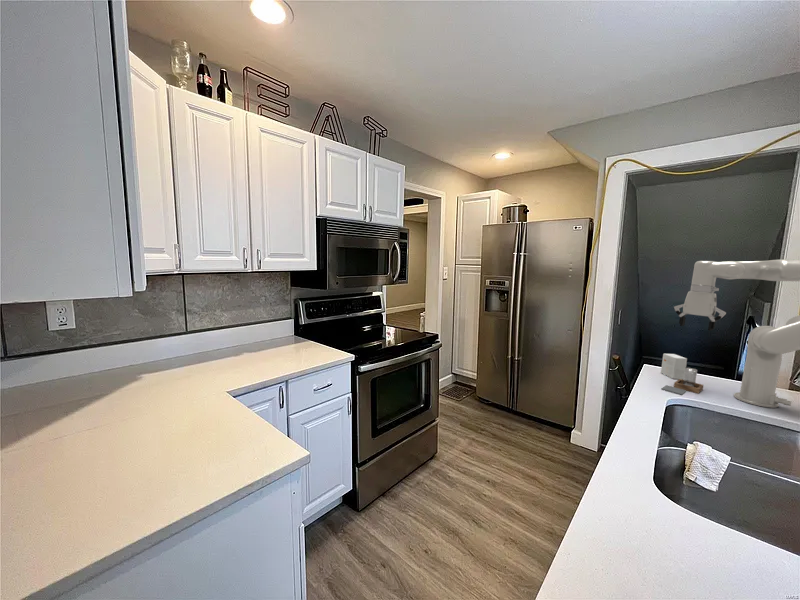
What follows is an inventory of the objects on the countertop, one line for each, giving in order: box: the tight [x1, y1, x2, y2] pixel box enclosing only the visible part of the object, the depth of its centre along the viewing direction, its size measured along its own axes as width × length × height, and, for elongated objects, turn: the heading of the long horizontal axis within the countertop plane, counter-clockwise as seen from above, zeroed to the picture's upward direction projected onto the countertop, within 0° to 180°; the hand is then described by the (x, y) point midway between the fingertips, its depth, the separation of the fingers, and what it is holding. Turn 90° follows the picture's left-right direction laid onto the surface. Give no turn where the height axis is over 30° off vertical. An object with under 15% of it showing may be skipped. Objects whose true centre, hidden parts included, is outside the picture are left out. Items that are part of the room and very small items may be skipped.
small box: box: [660, 353, 688, 380], centre depth 162 cm, size 8×6×10 cm
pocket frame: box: [673, 379, 705, 395], centre depth 147 cm, size 8×8×2 cm
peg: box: [682, 367, 698, 387], centre depth 146 cm, size 4×4×9 cm
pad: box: [660, 384, 687, 396], centre depth 143 cm, size 7×7×1 cm
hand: (695, 327), depth 144 cm, fingers open, 9 cm apart
